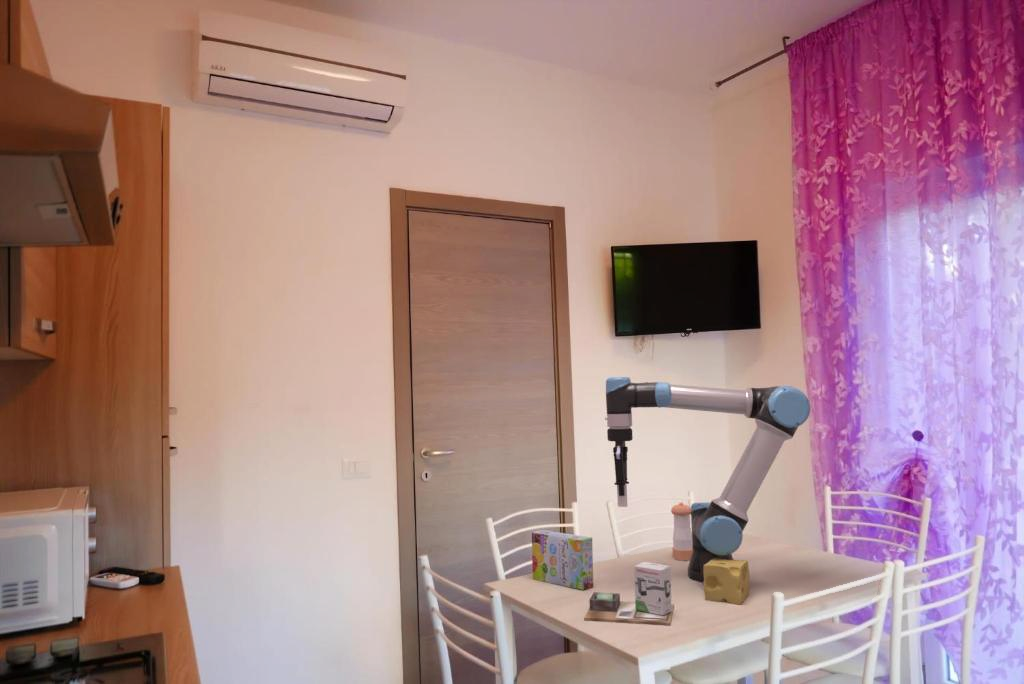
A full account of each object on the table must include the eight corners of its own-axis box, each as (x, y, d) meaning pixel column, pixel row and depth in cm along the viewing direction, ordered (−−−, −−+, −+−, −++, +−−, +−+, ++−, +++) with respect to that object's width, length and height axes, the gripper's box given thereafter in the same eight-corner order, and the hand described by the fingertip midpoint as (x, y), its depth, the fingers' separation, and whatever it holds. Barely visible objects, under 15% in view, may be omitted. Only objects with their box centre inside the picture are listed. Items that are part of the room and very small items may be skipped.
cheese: (741, 605, 196) (739, 568, 197) (702, 600, 202) (700, 564, 203) (750, 595, 205) (749, 560, 206) (713, 590, 211) (711, 556, 212)
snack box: (595, 587, 218) (593, 536, 219) (583, 591, 214) (581, 539, 215) (543, 575, 233) (541, 528, 234) (531, 579, 229) (530, 531, 230)
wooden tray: (673, 606, 197) (673, 593, 197) (670, 625, 182) (669, 611, 182) (594, 602, 203) (593, 589, 203) (584, 620, 188) (583, 606, 188)
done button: (614, 604, 198) (613, 593, 198) (612, 609, 193) (611, 597, 194) (598, 603, 199) (597, 592, 199) (595, 608, 195) (595, 597, 195)
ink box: (634, 610, 192) (632, 565, 192) (643, 605, 195) (642, 561, 196) (663, 615, 186) (661, 569, 187) (672, 611, 190) (670, 565, 191)
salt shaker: (672, 555, 255) (669, 501, 256) (693, 555, 254) (690, 501, 255) (673, 560, 248) (671, 504, 249) (695, 560, 247) (692, 504, 248)
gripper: (610, 426, 226) (613, 502, 224) (604, 429, 213) (607, 509, 212) (634, 426, 224) (637, 503, 222) (629, 428, 211) (632, 510, 210)
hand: (622, 506), depth 217 cm, fingers closed
